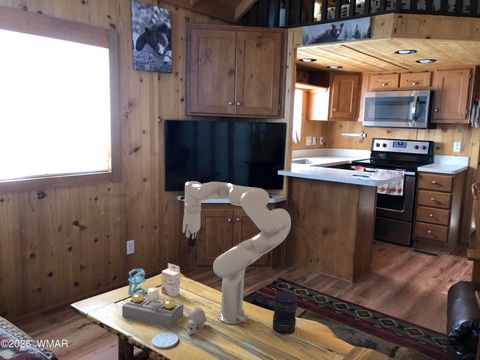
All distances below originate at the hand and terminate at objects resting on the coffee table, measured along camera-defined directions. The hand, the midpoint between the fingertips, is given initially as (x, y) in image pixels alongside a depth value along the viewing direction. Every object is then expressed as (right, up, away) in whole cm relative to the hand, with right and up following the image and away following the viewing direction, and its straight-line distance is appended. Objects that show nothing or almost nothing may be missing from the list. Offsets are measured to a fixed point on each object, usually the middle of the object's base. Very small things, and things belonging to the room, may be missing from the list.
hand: (191, 246), depth 176 cm
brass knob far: (-24, -24, -6) cm, 34 cm away
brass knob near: (-9, -26, -11) cm, 29 cm away
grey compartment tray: (-16, -30, -8) cm, 35 cm away
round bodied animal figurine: (+3, -32, -17) cm, 37 cm away
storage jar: (+42, -33, -14) cm, 55 cm away
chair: (-30, -26, +14) cm, 42 cm away
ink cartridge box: (-13, -27, +15) cm, 33 cm away
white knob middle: (-16, -22, -9) cm, 29 cm away
